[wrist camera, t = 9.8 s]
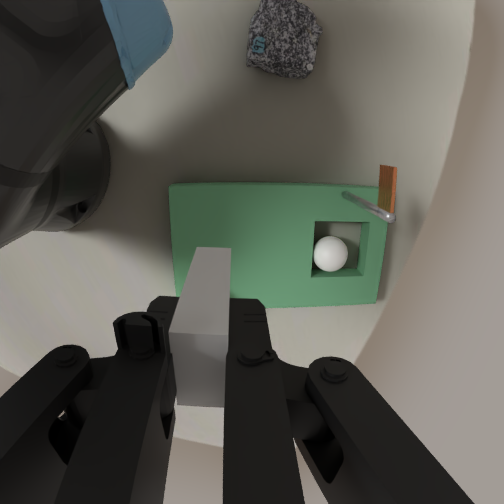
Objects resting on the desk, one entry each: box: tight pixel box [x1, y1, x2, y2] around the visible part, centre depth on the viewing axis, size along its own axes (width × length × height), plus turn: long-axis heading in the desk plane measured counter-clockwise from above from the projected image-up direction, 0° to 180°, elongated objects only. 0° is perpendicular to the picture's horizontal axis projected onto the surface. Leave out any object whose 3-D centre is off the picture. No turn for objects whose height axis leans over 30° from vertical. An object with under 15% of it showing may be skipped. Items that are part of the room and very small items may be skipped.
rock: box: [246, 0, 323, 79], centre depth 27 cm, size 8×10×4 cm
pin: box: [342, 165, 397, 223], centre depth 26 cm, size 1×4×11 cm, turn 179°
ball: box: [313, 236, 348, 272], centre depth 35 cm, size 4×4×4 cm
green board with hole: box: [168, 182, 388, 308], centre depth 35 cm, size 24×14×2 cm, turn 90°
